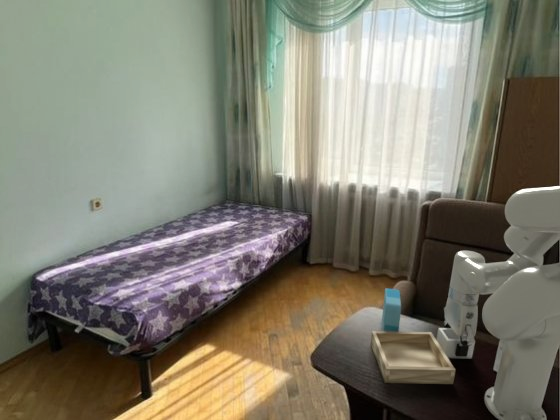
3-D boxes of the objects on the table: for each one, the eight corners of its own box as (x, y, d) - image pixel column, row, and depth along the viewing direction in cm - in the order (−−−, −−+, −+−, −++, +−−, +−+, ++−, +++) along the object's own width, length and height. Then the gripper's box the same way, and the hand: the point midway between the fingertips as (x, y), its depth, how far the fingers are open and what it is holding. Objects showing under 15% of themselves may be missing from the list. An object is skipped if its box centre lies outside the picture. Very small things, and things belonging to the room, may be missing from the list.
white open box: (471, 358, 103) (475, 341, 101) (444, 358, 103) (447, 340, 101) (461, 345, 109) (464, 328, 107) (435, 344, 109) (438, 327, 107)
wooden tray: (452, 384, 93) (455, 370, 92) (384, 382, 93) (386, 368, 92) (429, 344, 109) (431, 332, 107) (370, 343, 109) (371, 331, 108)
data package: (397, 340, 110) (401, 307, 107) (382, 338, 111) (385, 305, 108) (395, 319, 121) (399, 288, 118) (382, 317, 123) (385, 286, 119)
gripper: (494, 311, 92) (482, 367, 97) (462, 279, 108) (453, 328, 113) (465, 310, 92) (455, 367, 97) (437, 279, 108) (430, 328, 114)
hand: (454, 346), depth 105 cm, fingers open, 7 cm apart
